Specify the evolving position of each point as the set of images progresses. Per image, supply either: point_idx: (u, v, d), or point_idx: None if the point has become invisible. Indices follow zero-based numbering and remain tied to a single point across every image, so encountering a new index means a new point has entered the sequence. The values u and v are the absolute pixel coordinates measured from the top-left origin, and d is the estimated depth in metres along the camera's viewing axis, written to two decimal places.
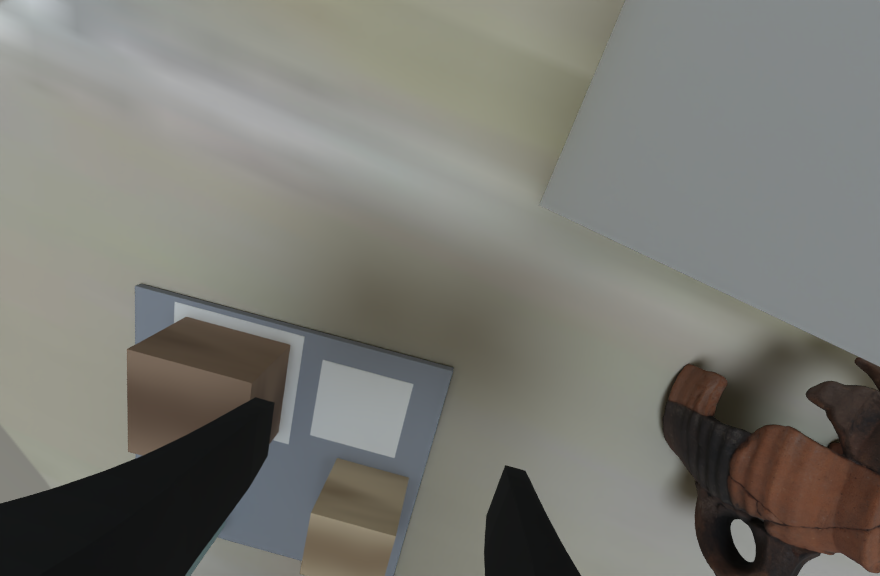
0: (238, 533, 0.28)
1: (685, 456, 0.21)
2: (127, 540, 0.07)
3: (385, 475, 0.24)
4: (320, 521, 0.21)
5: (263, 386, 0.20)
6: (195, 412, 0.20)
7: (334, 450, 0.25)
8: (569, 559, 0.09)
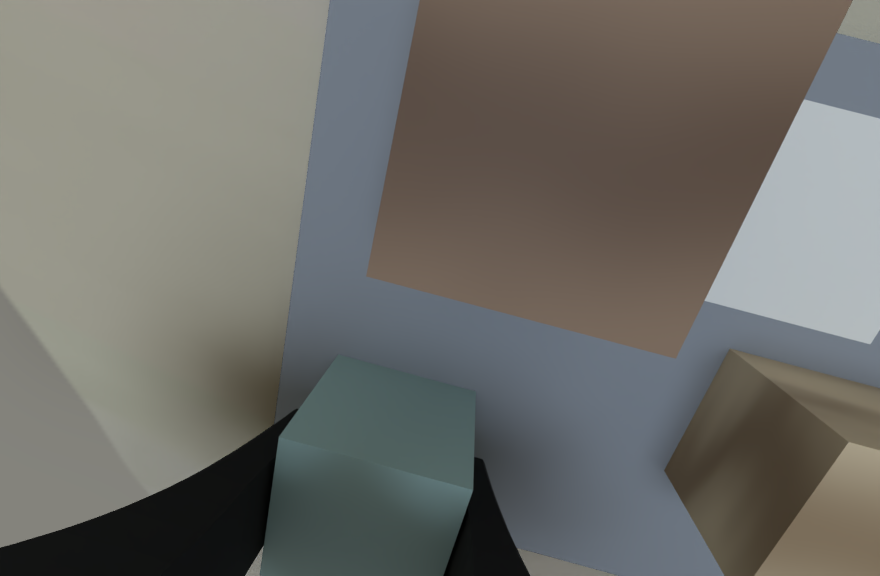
0: None
1: None
2: (197, 560, 0.07)
3: (846, 383, 0.11)
4: (863, 467, 0.08)
5: None
6: (610, 127, 0.07)
7: (729, 331, 0.11)
8: (511, 543, 0.09)
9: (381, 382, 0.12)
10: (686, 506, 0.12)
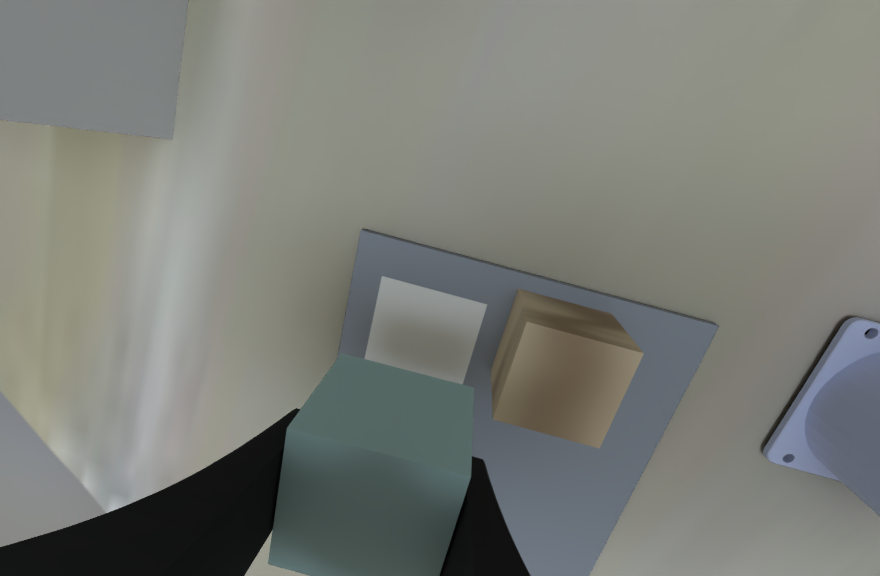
0: (611, 497, 0.22)
1: None
2: (196, 560, 0.07)
3: (509, 317, 0.19)
4: (506, 410, 0.17)
5: None
6: None
7: (480, 372, 0.21)
8: (512, 543, 0.09)
9: (383, 379, 0.13)
10: None
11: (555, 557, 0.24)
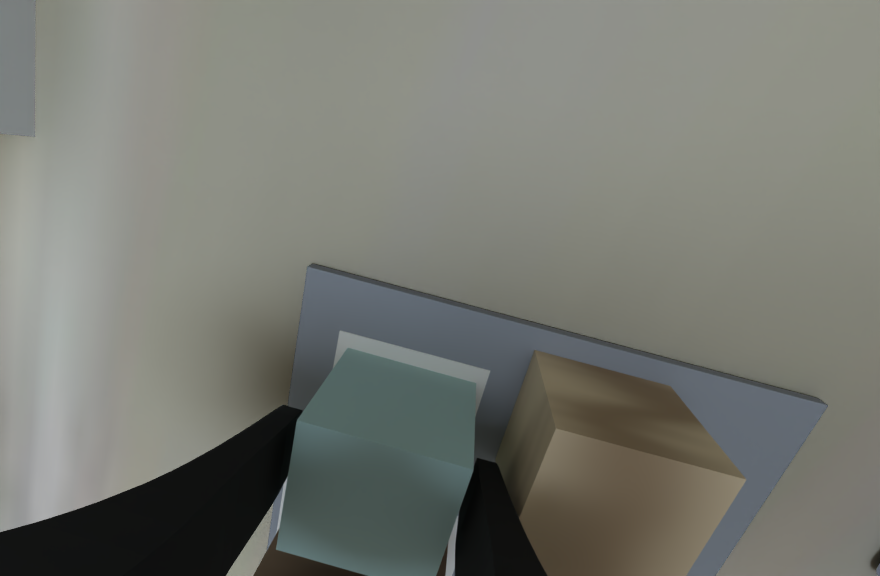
0: None
1: None
2: (174, 553, 0.07)
3: (522, 390, 0.13)
4: None
5: (294, 561, 0.13)
6: None
7: None
8: (531, 548, 0.09)
9: (388, 373, 0.13)
10: None
11: None
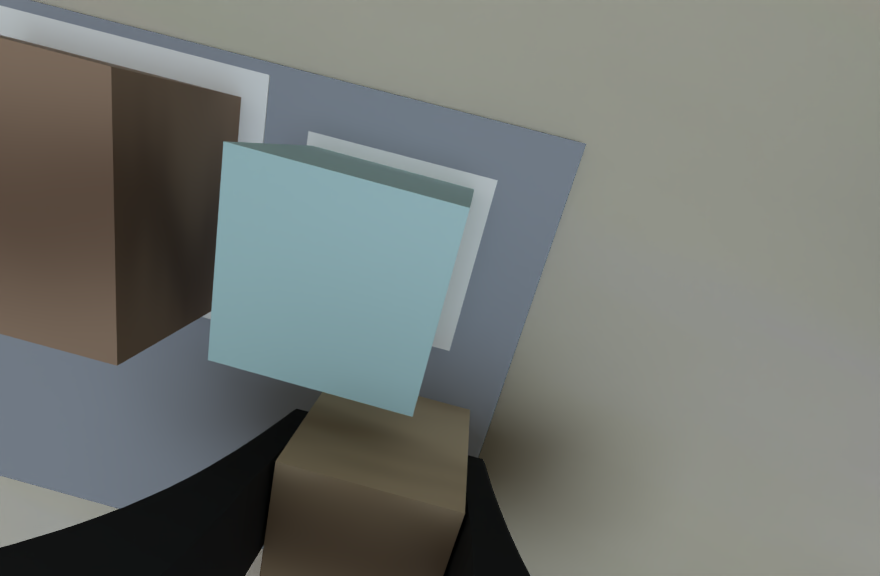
0: None
1: None
2: (197, 560, 0.07)
3: (427, 404, 0.13)
4: (296, 482, 0.10)
5: (163, 130, 0.09)
6: None
7: None
8: (511, 543, 0.09)
9: None
10: None
11: (35, 441, 0.15)
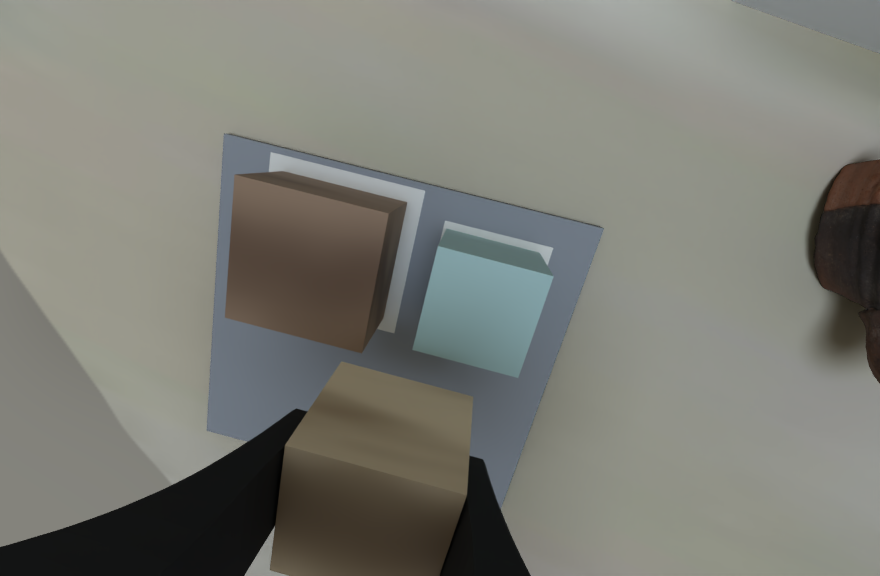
0: None
1: (853, 274, 0.17)
2: (196, 559, 0.07)
3: (430, 391, 0.13)
4: (305, 465, 0.10)
5: (390, 232, 0.17)
6: (313, 259, 0.16)
7: None
8: (512, 543, 0.09)
9: None
10: None
11: (243, 408, 0.24)
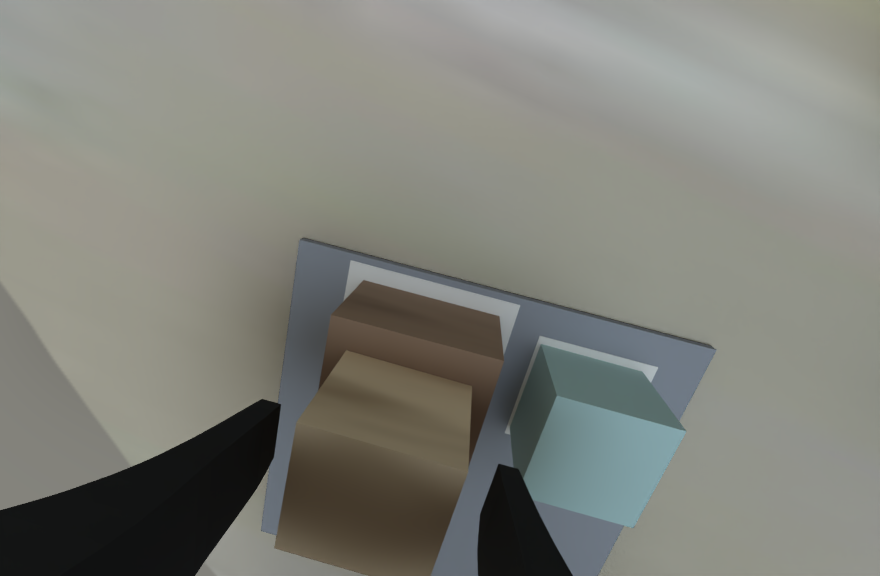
0: None
1: None
2: (138, 543, 0.07)
3: (432, 379, 0.14)
4: (315, 442, 0.10)
5: None
6: None
7: None
8: (560, 556, 0.09)
9: None
10: None
11: None
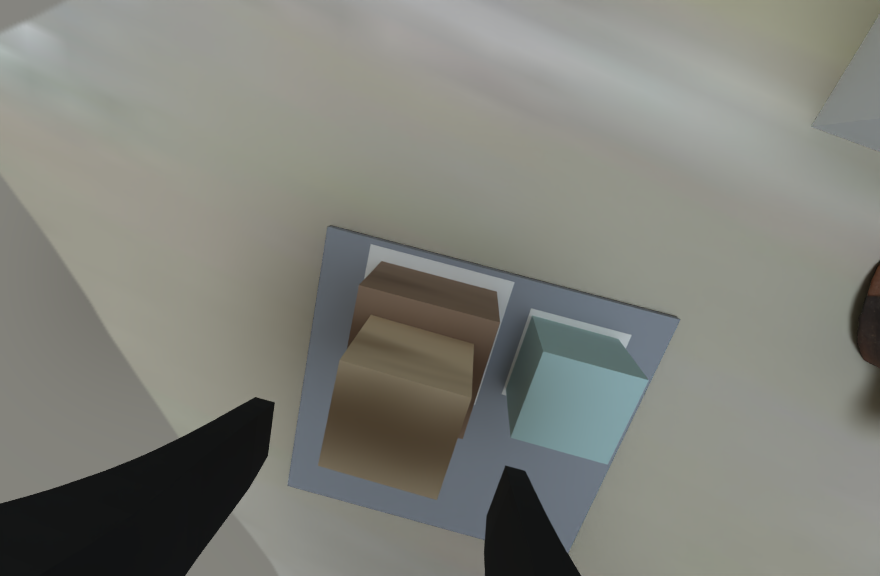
0: (400, 505, 0.26)
1: None
2: (127, 540, 0.07)
3: (441, 338, 0.17)
4: (353, 376, 0.14)
5: None
6: None
7: None
8: (569, 559, 0.09)
9: None
10: None
11: None
